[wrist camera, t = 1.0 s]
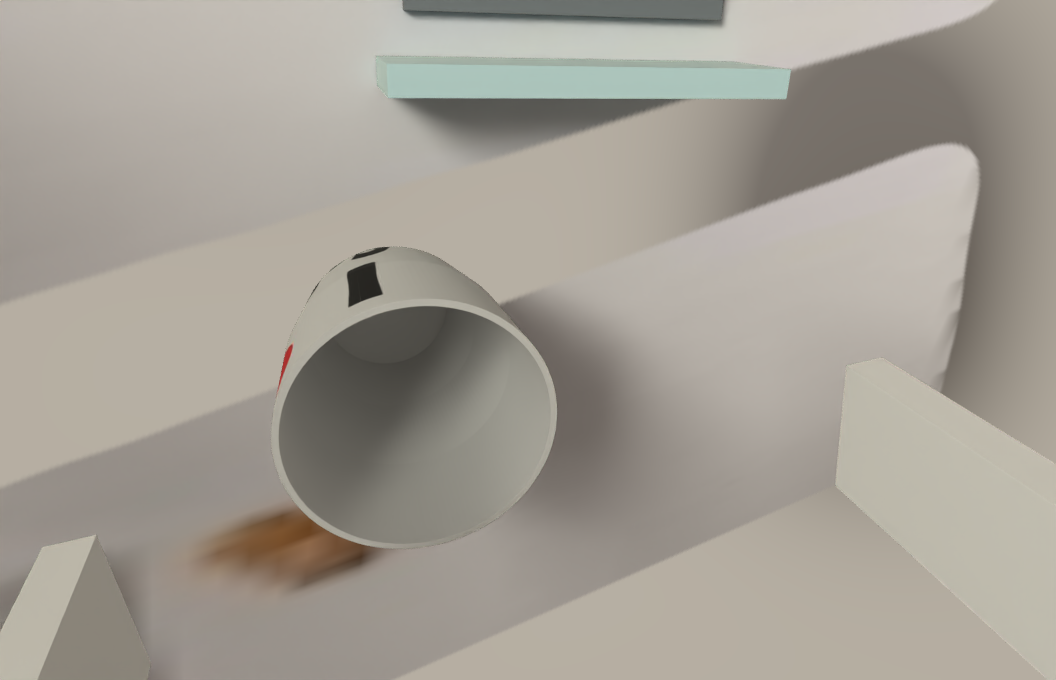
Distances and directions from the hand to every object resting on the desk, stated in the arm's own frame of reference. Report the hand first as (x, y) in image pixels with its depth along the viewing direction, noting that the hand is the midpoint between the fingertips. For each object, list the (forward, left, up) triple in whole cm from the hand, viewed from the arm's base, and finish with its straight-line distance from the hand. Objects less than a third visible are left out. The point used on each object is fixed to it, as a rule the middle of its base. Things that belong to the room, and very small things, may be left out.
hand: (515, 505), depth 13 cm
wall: (+6, +6, -18) cm, 20 cm away
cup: (-1, -3, -18) cm, 19 cm away
